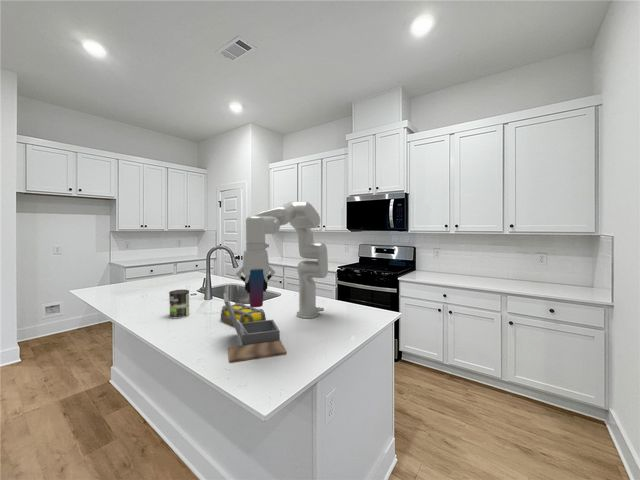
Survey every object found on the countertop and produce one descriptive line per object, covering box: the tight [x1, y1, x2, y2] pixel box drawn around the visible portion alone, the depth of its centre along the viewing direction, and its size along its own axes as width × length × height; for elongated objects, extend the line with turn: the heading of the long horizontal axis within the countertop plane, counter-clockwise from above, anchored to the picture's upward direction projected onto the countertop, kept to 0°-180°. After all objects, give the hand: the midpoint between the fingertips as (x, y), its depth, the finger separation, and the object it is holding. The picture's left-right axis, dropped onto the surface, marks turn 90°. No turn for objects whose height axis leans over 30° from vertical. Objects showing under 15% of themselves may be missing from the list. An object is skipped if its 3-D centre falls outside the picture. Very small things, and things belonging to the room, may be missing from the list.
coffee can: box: [168, 289, 190, 320], centre depth 163 cm, size 10×10×14 cm
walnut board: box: [227, 340, 287, 364], centre depth 117 cm, size 22×12×1 cm, turn 110°
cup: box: [248, 270, 264, 308], centre depth 116 cm, size 7×7×15 cm
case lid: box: [223, 292, 241, 337], centre depth 128 cm, size 16×16×1 cm
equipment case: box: [236, 319, 281, 346], centre depth 132 cm, size 18×16×12 cm
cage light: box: [220, 302, 267, 329], centre depth 153 cm, size 15×8×30 cm
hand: (256, 291), depth 116 cm, fingers closed on cup, 6 cm apart
